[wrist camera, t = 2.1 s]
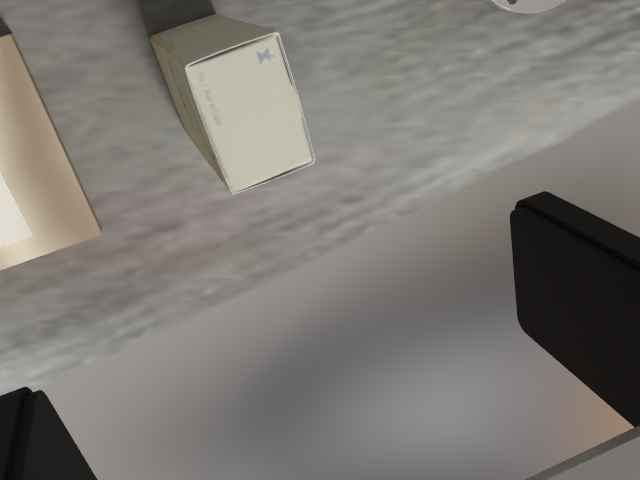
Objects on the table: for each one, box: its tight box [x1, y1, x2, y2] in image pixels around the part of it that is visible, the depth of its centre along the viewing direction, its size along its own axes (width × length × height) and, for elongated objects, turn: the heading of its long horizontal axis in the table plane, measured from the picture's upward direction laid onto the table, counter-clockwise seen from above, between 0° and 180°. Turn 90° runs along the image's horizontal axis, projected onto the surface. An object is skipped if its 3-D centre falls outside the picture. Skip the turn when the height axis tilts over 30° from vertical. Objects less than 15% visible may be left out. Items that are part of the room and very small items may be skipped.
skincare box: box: [150, 14, 315, 194], centre depth 30 cm, size 6×4×12 cm
